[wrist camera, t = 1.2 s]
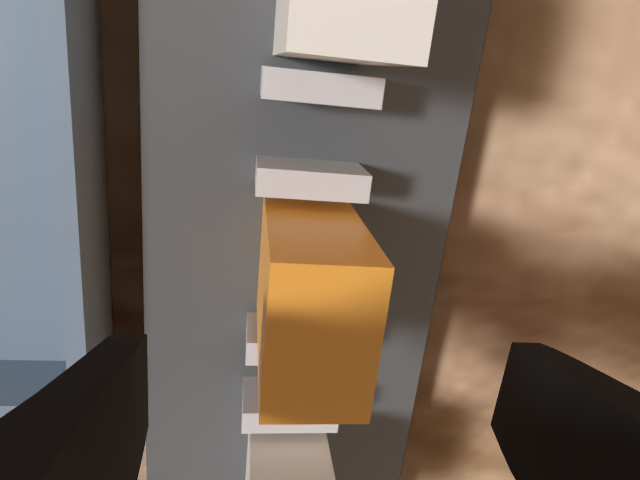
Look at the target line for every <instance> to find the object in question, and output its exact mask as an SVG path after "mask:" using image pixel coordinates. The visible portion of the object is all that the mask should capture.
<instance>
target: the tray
mask: <svg viewBox="0 0 640 480" xmlns="http://www.w3.org/2000/svg"><path fill="white" fill-rule="evenodd" d="M111 334H113V315H112V291H111V267H110V243H109V218H108V194H107V170H106V146H105V121H104V97H103V73H102V49H101V24H100V0H0V418H1V417H2V416H4V415H5V414H7V413H8V412H10V411H11V410H12V409H14V408H15V407H17V406H18V405H20V404H21V403H23V402H24V401H25V400H27V399H28V398H30V397H31V396H33V395H34V394H35V393H37V392H38V391H39V390H41V389H42V388H43V387H44V386H46V385H47V384H48V383H50V382H51V381H52V380H54V379H55V378H56V377H57V376H59V375H60V374H61V373H63V372H64V371H65V370H67V369H68V368H69V367H70V366H72V365H73V364H74V363H75V362H77V361H78V360H79V359H81V358H82V357H83V356H84V355H86V354H87V353H88V352H89V351H90V350H92V349H93V348H94V347H95V346H97V345H98V344H99V343H100V342H102V341H103V340H104V339H106V338H107V337H108V336H110V335H111Z"/></svg>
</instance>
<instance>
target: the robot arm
mask: <svg viewBox="0 0 640 480" xmlns="http://www.w3.org/2000/svg"><path fill="white" fill-rule="evenodd" d="M491 426H492V429H493V431H494V434H495V436H496V438H497V441H498V443H499V446H500V448H501V451H502V453H503V455H504V457H505V459H506V462H507V464H508V466H509V468H510V470H511V472H512V474H513V476H514V477H515V479H516V480H640V392H639V391H637V390H635V389H633V388H631V387H629V386H627V385H625V384H623V383H621V382H619V381H618V380H616V379H614V378H612V377H610V376H608V375H606V374H604V373H602V372H600V371H598V370H596V369H594V368H593V367H591V366H589V365H587V364H585V363H583V362H581V361H579V360H577V359H575V358H573V357H571V356H569V355H567V354H565V353H562V352H560V351H558V350H556V349H553V348H551V347H549V346H546V345H544V344H541V343H517V342H512V345H511V348H510V352H509V356H508V360H507V364H506V368H505V372H504V375H503V379H502V383H501V387H500V391H499V395H498V398H497V402H496V406H495V410H494V414H493V418H492V421H491ZM148 427H149V419H148V358H147V334H111V335H110V336H108V337H107V338H106V339H104V340H103V341H102V342H100V343H99V344H98V345H97V346H95V347H94V348H93V349H92V350H90V351H89V352H88V353H87V354H86V355H84V356H83V357H82V358H81V359H79V360H78V361H77V362H75V363H74V364H73V365H72V366H70V367H69V368H68V369H67V370H65V371H64V372H63V373H61V374H60V375H59V376H57V377H56V378H55V379H54V380H52V381H51V382H50V383H48V384H47V385H46V386H44V387H43V388H42V389H41V390H39V391H38V392H37V393H35V394H34V395H33V396H31V397H30V398H28V399H27V400H25V401H24V402H23V403H21V404H20V405H18V406H17V407H15V408H14V409H12V410H11V411H10V412H8V413H7V414H5V415H4V416H2V417H1V418H0V480H137V478H138V474H139V469H140V465H141V460H142V456H143V451H144V446H145V441H146V436H147V432H148Z"/></svg>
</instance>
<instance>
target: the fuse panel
mask: <svg viewBox="0 0 640 480" xmlns="http://www.w3.org/2000/svg"><path fill="white" fill-rule="evenodd" d="M491 5H492V0H438V4H437V10H436V16H435V22H434V28H433V35H432V41H431V47H430V53H429V59H428V65H427V67H407V66H377V65H356V64H347V63H338V62H329V61H320V60H310V59H301V58H292V57H283V56H274V55H273V43H274V28H275V12H276V0H138V17H139V72H140V127H141V183H142V238H143V293H144V334H147V358H148V419H149V427H148V432H147V436H146V459H147V480H245V476H246V461H247V445H248V434H269V433H326V434H327V439H328V444H329V449H330V454H331V459H332V464H333V469H334V474H335V479H336V480H399V479H400V474H401V469H402V464H403V459H404V454H405V448H406V443H407V438H408V433H409V428H410V423H411V417H412V412H413V407H414V402H415V397H416V392H417V387H418V381H419V376H420V371H421V366H422V361H423V356H424V351H425V345H426V340H427V335H428V330H429V325H430V320H431V314H432V309H433V304H434V299H435V294H436V289H437V284H438V278H439V273H440V268H441V263H442V258H443V253H444V248H445V242H446V237H447V232H448V227H449V222H450V217H451V211H452V206H453V201H454V196H455V191H456V186H457V181H458V175H459V170H460V165H461V160H462V155H463V150H464V145H465V139H466V134H467V129H468V124H469V119H470V114H471V108H472V103H473V98H474V93H475V88H476V83H477V78H478V72H479V67H480V62H481V57H482V52H483V47H484V42H485V36H486V31H487V26H488V21H489V16H490V11H491ZM264 197H269V198H284V199H300V200H315V201H331V202H346V203H350V204H351V205H352V207H353V208H354V210H355V211H356V213H357V214H358V215H359V217H360V218H361V220H362V221H363V223H364V224H365V226H366V227H367V229H368V230H369V231H370V233H371V234H372V236H373V237H374V239H375V240H376V242H377V243H378V244H379V246H380V247H381V249H382V250H383V252H384V253H385V255H386V256H387V258H388V259H389V260H390V262H391V263H392V265H393V266H394V268H395V270H394V276H393V282H392V288H391V295H390V301H389V307H388V313H387V319H386V325H385V332H384V338H383V344H382V350H381V356H380V363H379V369H378V375H377V381H376V387H375V394H374V400H373V406H372V412H371V418H370V424H314V425H259V407H258V353H257V291H258V275H259V260H260V244H261V229H262V213H263V198H264Z"/></svg>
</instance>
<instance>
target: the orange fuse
mask: <svg viewBox="0 0 640 480" xmlns="http://www.w3.org/2000/svg"><path fill="white" fill-rule="evenodd" d="M394 270H395V268H394V266H393V265H392V263H391V262H390V260H389V259H388V258H387V256H386V255H385V253H384V252H383V250H382V249H381V247H380V246H379V244H378V243H377V242H376V240H375V239H374V237H373V236H372V234H371V233H370V231H369V230H368V229H367V227H366V226H365V224H364V223H363V221H362V220H361V218H360V217H359V215H358V214H357V213H356V211H355V210H354V208H353V207H352V205H351V204H350V203H346V202H331V201H315V200H300V199H284V198H269V197H264V198H263V213H262V229H261V244H260V260H259V275H258V291H257V353H258V407H259V425H314V424H370V418H371V412H372V406H373V400H374V394H375V387H376V381H377V375H378V369H379V363H380V356H381V350H382V344H383V338H384V332H385V325H386V319H387V313H388V307H389V301H390V295H391V288H392V282H393V276H394Z"/></svg>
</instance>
